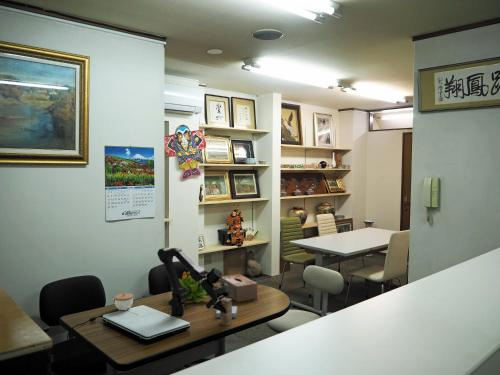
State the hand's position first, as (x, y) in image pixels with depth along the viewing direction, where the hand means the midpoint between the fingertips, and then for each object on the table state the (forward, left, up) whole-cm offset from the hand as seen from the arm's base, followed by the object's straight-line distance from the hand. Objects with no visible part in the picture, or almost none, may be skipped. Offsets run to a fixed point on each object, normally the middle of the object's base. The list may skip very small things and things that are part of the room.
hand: (228, 311), depth 216 cm
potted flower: (-29, +38, -7) cm, 48 cm away
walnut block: (-1, +1, -7) cm, 7 cm away
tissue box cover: (+2, +51, -7) cm, 51 cm away
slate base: (-2, +15, -7) cm, 16 cm away
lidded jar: (-64, +22, -7) cm, 68 cm away
